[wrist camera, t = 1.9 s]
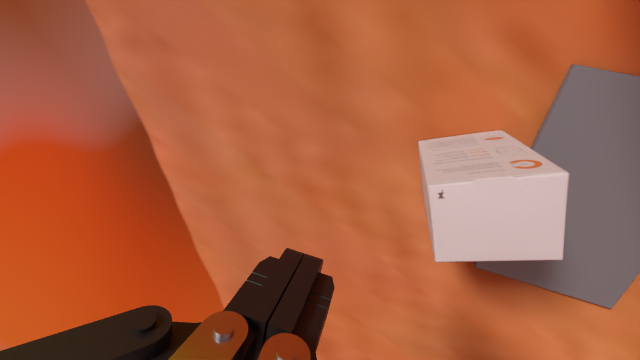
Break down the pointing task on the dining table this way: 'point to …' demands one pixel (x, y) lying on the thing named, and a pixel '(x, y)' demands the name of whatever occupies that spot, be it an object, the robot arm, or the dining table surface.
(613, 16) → the dining table surface
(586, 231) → the slate mat
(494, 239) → the small box
